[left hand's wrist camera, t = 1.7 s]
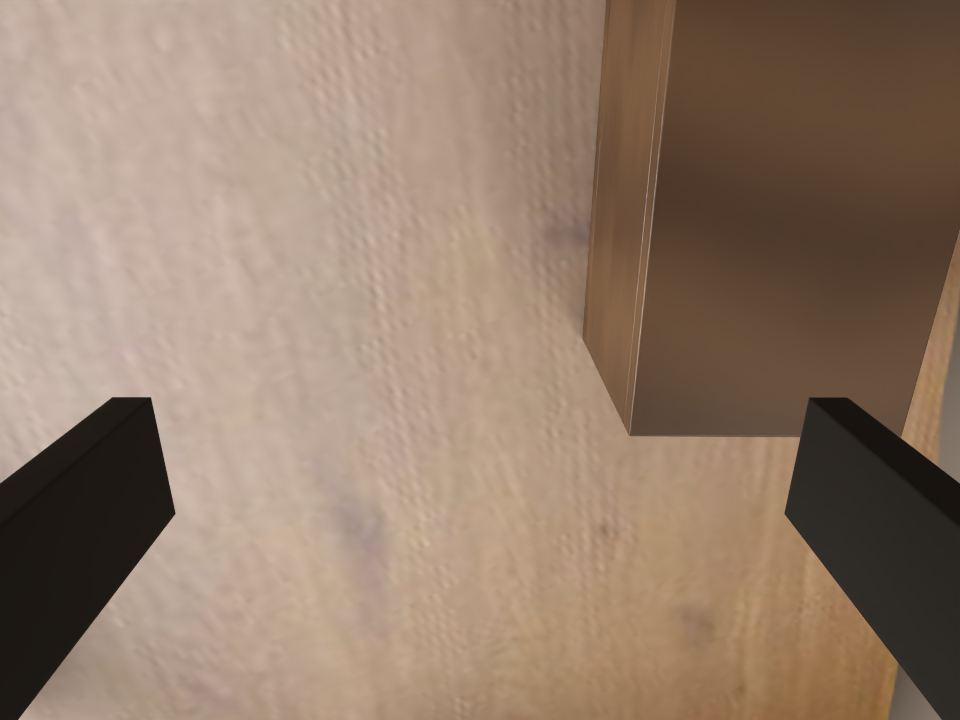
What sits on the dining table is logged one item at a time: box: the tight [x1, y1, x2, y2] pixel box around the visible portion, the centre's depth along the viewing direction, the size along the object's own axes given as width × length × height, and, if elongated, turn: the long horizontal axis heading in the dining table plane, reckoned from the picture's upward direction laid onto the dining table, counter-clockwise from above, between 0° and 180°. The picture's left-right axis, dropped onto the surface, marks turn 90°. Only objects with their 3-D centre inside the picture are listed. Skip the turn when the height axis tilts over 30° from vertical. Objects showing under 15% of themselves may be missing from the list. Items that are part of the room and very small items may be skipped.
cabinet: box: [583, 0, 960, 437], centre depth 27 cm, size 17×11×12 cm, turn 0°
